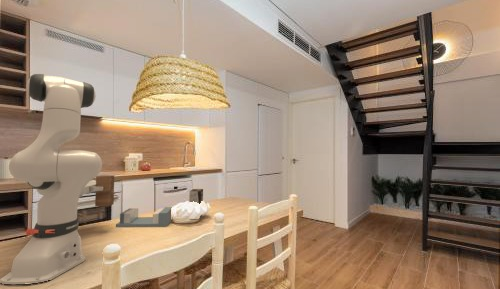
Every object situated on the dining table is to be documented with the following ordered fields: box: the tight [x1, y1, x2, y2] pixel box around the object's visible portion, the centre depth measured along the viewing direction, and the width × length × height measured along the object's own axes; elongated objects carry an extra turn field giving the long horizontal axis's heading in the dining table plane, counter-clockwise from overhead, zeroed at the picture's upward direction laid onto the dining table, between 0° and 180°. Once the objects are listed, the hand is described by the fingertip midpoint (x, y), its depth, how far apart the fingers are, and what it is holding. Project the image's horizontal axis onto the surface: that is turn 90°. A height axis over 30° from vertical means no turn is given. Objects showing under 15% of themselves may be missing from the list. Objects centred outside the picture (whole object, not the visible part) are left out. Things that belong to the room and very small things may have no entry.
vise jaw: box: [119, 207, 139, 223], centre depth 132 cm, size 11×5×5 cm, turn 4°
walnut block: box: [94, 175, 115, 207], centre depth 119 cm, size 5×6×14 cm
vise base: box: [115, 206, 173, 228], centre depth 132 cm, size 13×25×7 cm, turn 94°
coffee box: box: [188, 188, 204, 204], centre depth 145 cm, size 9×6×16 cm
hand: (107, 187), depth 119 cm, fingers closed on walnut block, 5 cm apart
